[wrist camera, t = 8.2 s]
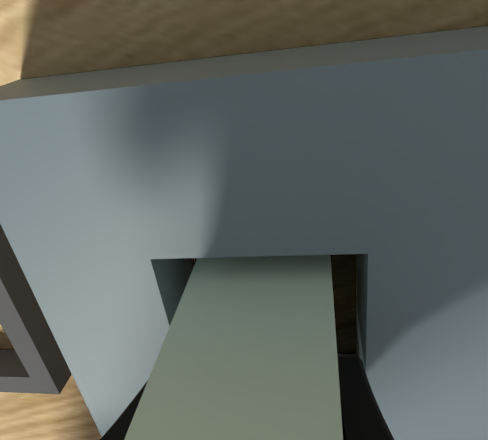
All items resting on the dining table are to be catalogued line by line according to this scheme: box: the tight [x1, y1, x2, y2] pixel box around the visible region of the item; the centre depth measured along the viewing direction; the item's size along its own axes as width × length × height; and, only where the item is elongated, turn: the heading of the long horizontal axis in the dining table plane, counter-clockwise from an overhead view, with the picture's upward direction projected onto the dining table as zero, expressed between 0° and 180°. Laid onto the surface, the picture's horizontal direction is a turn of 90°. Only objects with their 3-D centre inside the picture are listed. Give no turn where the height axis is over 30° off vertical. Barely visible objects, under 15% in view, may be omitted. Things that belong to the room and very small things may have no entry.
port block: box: [0, 26, 488, 440], centre depth 14 cm, size 16×14×3 cm
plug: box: [124, 255, 343, 440], centre depth 10 cm, size 5×4×8 cm
